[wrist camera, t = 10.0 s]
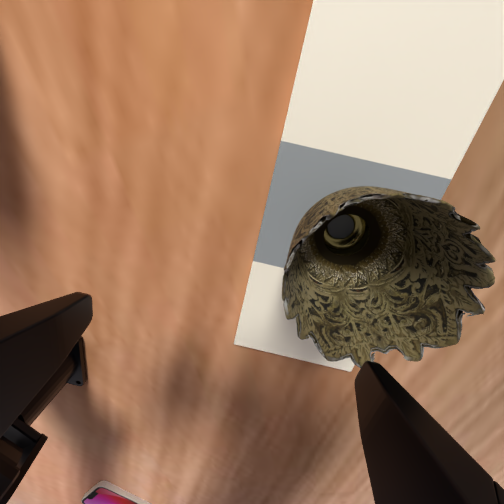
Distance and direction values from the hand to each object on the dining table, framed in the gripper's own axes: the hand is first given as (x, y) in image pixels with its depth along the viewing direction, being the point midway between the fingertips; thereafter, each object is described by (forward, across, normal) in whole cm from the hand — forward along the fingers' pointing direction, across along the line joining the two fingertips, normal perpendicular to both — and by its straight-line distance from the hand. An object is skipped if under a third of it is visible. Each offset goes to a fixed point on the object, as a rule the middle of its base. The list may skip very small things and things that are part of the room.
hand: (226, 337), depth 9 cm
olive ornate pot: (+10, -5, -2) cm, 12 cm away
